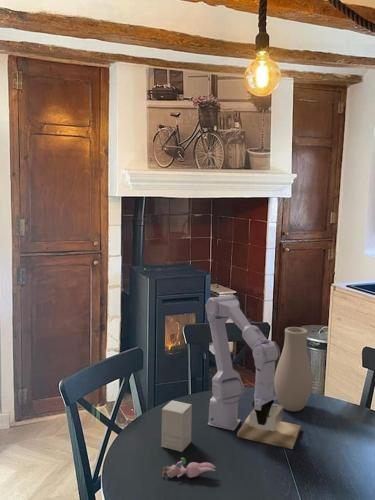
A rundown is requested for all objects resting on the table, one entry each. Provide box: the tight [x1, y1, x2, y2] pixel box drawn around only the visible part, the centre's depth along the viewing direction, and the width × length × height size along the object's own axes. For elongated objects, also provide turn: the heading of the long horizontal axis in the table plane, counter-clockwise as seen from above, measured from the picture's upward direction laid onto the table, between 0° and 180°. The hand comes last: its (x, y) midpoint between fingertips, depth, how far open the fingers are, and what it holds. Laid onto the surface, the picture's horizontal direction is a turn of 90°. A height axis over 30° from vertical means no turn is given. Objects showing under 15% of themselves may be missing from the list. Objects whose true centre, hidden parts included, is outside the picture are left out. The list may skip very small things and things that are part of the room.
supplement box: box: [161, 400, 193, 453], centre depth 160 cm, size 7×7×13 cm
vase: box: [274, 326, 314, 412], centre depth 186 cm, size 14×14×30 cm
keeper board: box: [236, 414, 302, 450], centre depth 169 cm, size 18×14×6 cm
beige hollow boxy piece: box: [249, 403, 285, 431], centre depth 163 cm, size 8×12×4 cm, turn 157°
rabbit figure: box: [161, 457, 216, 479], centre depth 143 cm, size 6×6×15 cm
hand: (262, 422), depth 159 cm, fingers closed on beige hollow boxy piece, 2 cm apart
